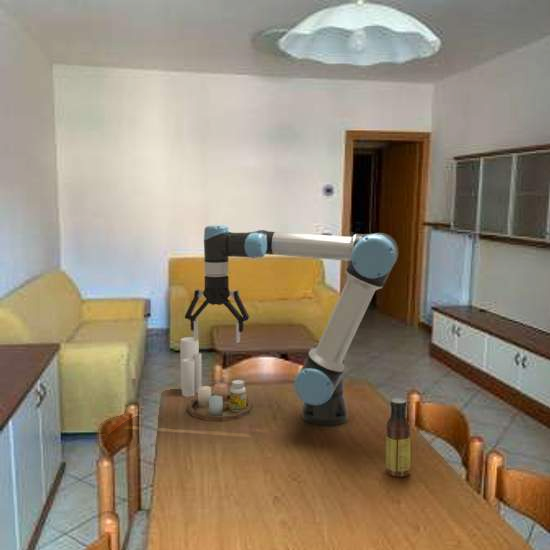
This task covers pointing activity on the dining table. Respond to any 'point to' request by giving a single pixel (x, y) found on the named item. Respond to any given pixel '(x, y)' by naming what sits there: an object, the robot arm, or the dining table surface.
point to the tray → (227, 415)
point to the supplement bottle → (238, 396)
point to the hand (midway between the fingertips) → (217, 341)
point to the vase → (190, 366)
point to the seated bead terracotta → (221, 390)
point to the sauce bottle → (398, 440)
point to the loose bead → (216, 405)
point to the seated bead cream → (204, 396)
